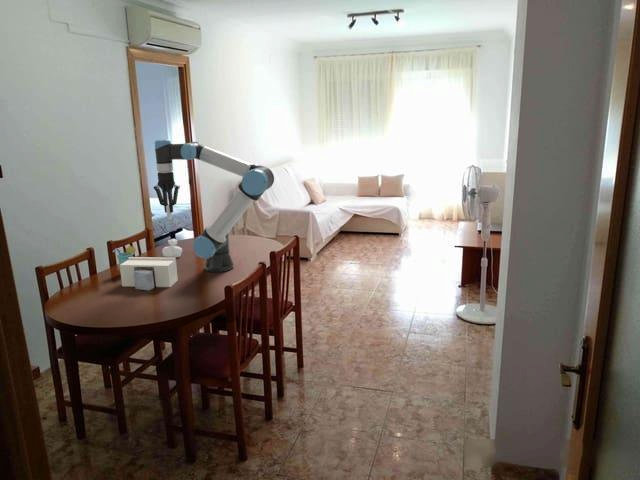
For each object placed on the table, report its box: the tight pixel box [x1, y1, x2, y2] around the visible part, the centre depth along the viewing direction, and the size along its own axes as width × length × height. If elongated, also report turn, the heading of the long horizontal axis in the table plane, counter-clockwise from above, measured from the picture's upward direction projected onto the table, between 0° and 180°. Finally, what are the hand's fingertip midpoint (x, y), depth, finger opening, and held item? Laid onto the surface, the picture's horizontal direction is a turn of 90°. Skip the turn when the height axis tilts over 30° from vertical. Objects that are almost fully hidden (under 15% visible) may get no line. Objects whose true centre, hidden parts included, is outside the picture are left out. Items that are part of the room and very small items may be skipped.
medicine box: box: [134, 270, 155, 291], centre depth 237 cm, size 8×4×9 cm, turn 68°
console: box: [119, 256, 179, 288], centre depth 244 cm, size 24×10×12 cm, turn 84°
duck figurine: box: [161, 238, 183, 258], centre depth 291 cm, size 12×8×11 cm
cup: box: [111, 245, 136, 265], centre depth 258 cm, size 14×8×15 cm, turn 157°
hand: (169, 218), depth 251 cm, fingers closed
